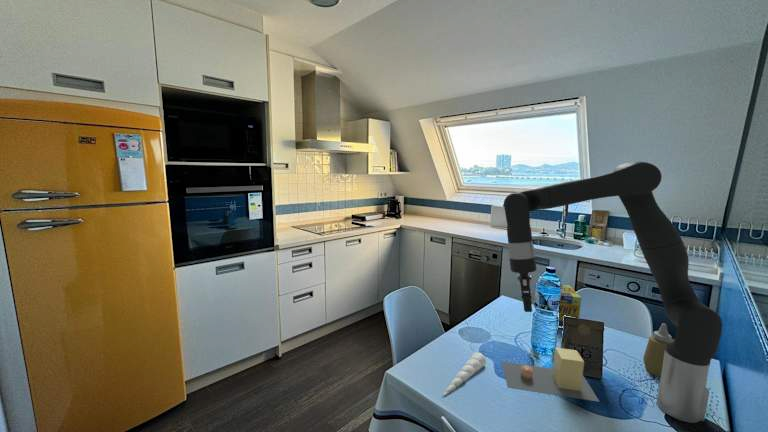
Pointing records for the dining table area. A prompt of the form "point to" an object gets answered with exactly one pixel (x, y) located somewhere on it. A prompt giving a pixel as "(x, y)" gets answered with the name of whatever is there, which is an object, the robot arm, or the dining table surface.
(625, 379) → the dining table surface
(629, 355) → the dining table surface
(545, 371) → the mat
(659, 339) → the squeeze bottle
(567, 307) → the protein box
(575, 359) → the tall cream block
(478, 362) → the unicorn horn
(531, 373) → the tan rounded blob
